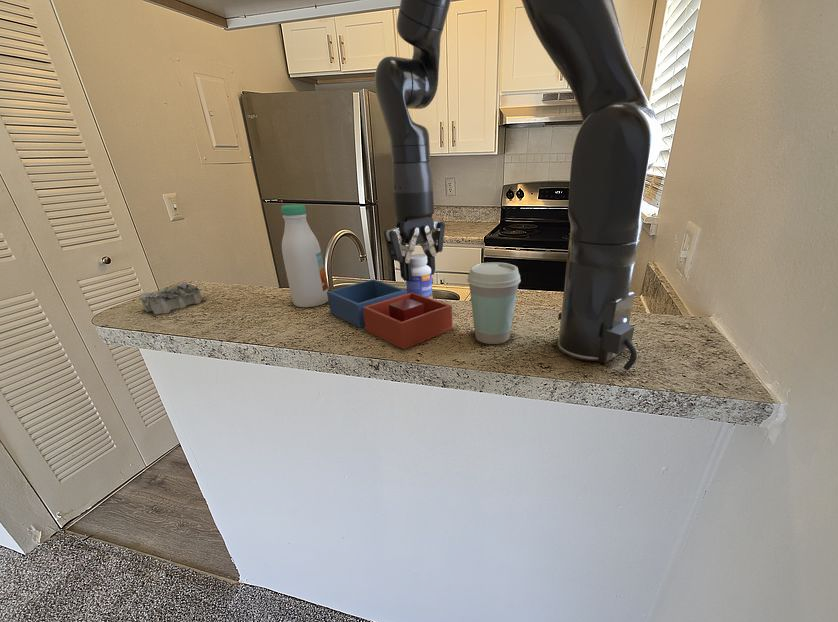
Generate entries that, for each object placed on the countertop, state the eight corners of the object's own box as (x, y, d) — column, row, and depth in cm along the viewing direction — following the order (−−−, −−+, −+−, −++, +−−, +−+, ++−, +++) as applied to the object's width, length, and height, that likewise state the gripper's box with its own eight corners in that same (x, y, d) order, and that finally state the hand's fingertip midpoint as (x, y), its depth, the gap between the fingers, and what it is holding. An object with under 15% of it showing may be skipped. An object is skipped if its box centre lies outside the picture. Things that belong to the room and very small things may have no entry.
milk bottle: (319, 309, 84) (300, 207, 75) (286, 307, 86) (263, 207, 76) (335, 297, 91) (320, 202, 82) (304, 295, 92) (285, 202, 83)
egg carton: (157, 316, 83) (149, 297, 81) (140, 310, 87) (133, 292, 85) (208, 301, 91) (202, 283, 89) (191, 295, 95) (185, 279, 93)
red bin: (452, 329, 73) (451, 305, 71) (403, 349, 66) (401, 323, 64) (413, 314, 80) (411, 291, 78) (365, 330, 73) (362, 307, 71)
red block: (425, 326, 73) (423, 303, 71) (405, 334, 70) (403, 310, 68) (409, 320, 76) (408, 298, 74) (390, 327, 73) (388, 304, 71)
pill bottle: (426, 307, 83) (423, 260, 78) (403, 305, 85) (399, 258, 80) (437, 299, 87) (434, 254, 83) (414, 296, 89) (411, 252, 85)
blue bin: (407, 311, 81) (406, 290, 79) (360, 328, 75) (357, 304, 72) (376, 299, 89) (373, 279, 86) (330, 313, 82) (326, 291, 80)
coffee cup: (515, 349, 65) (519, 276, 59) (463, 345, 67) (462, 274, 61) (519, 328, 72) (523, 262, 67) (472, 325, 74) (472, 260, 68)
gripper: (394, 193, 69) (402, 289, 77) (454, 186, 78) (456, 273, 86) (369, 191, 74) (379, 281, 82) (428, 185, 83) (432, 267, 90)
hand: (418, 276), depth 84 cm, fingers closed on pill bottle, 5 cm apart
